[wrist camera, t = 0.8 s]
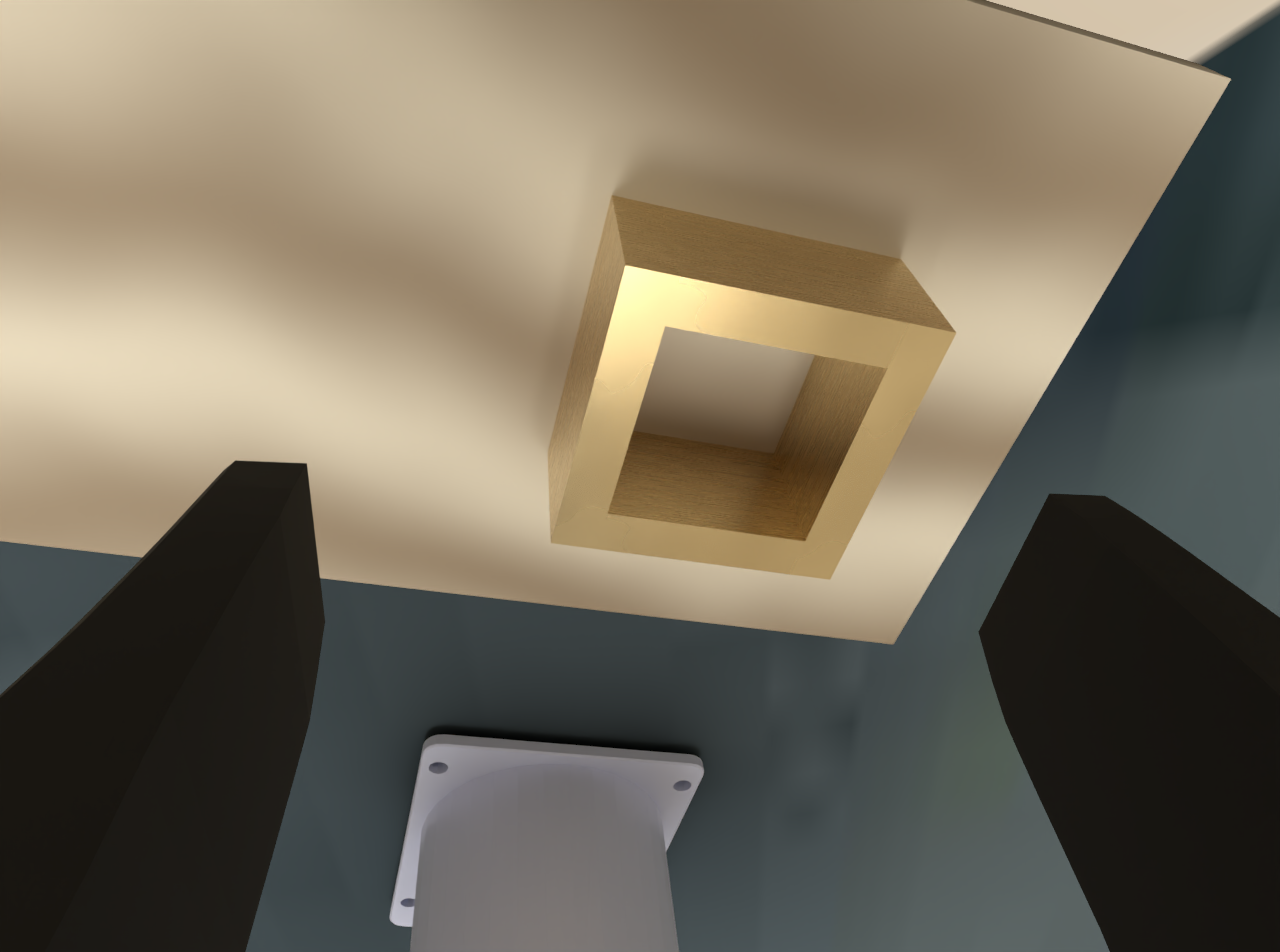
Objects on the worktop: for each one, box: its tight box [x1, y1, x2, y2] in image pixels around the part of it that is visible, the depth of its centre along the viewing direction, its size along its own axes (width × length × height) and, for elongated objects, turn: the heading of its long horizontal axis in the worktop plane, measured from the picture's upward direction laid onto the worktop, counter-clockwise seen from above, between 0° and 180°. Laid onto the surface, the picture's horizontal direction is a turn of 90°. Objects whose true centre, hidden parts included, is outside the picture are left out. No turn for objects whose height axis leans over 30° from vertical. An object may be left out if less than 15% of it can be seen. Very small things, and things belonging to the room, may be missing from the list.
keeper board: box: [0, 0, 1231, 644], centre depth 16 cm, size 14×28×4 cm, turn 75°
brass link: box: [548, 195, 956, 580], centre depth 17 cm, size 6×6×3 cm
